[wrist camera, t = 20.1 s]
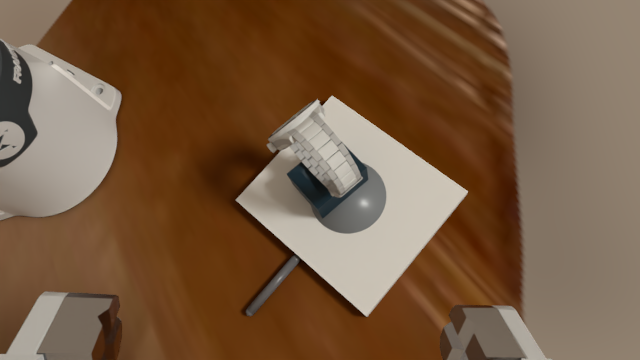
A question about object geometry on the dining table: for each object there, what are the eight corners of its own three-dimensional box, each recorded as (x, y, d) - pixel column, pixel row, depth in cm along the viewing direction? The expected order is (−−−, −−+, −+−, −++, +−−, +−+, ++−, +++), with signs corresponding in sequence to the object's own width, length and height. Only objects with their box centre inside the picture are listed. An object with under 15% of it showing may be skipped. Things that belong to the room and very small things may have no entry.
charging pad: (190, 257, 42) (184, 255, 41) (333, 101, 46) (331, 95, 44) (314, 381, 37) (312, 382, 36) (465, 195, 40) (468, 191, 39)
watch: (324, 134, 43) (305, 71, 33) (381, 193, 40) (379, 144, 30) (280, 171, 43) (245, 118, 32) (334, 233, 40) (315, 197, 30)
